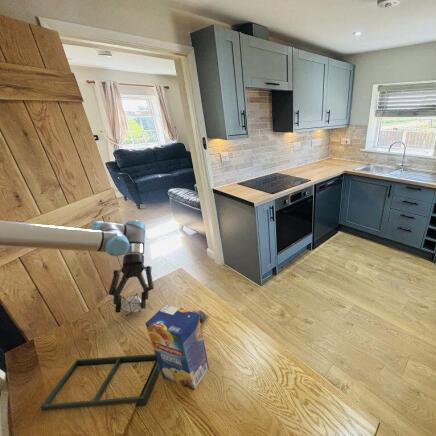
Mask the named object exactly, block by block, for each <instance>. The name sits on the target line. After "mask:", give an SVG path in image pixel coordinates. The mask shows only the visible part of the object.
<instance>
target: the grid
mask: <svg viewBox="0 0 436 436" xmlns="http://www.w3.org/2000/svg"><path fill="white" fill-rule="evenodd" d="M145 362H147V363H148V362H154V363H153V366H152V368H151V370H150V372H149V374H148V377H147V379H146V380H145V384H144V385H143V387H142V390H141V392H140V394H139V396H129V397H120V398H119V397H118V398H117V397H116V398H104V399H101V397H102V396H103V394H104V392H105V391H106V389H107V387H108V385H109V384H110V382H111V381H112V379H113V377H114V376H115V374H116V373H117V370H118V368H119V367H120V365H121V364H131V363H133V364H134V363H145ZM103 365H104V366H105V365H113V366H112V368H111V369H110V371H109V372H108V374H107V376H106V378H105V379H104V381H103V382H102V384H101V386H100V388H98V391H96V394H95V396H94V398H93V399H92V400H81V401H69V402H56V403H52V401H53V400H54V399H55V397H56V396H57V394H58V393H59V392H60V391H61V389H63V387H64V385H65V384H66V383H67V382H68V380H69V379H70V377H71V376H72V375H73V373H74V372H75V371H76V369H78V367H90V366H103ZM160 374H161V370H160V367H159V364H158V361H157V358H156V355H155V353H150V354H137V355H136V354H135V355H123V356H122V355H121V356H107V357H94V358H79V359H75V361H74V363H72V365H70V367H69V369H68V370H67V371H66V372H65V374H64V375H63V377H62V378H61V379H60V381H58V383H57V384H56V385H55V386H54V388H53V389H52V391H51V392H50V393H49V394H48V395H47V397H46V398H45V400H44V401H43V402H42V403H41V405H40V406H39V408H40V409H41V411H42V412H43V411H53V410H67V409H77V408H79V409H80V408H89V407H90V408H91V407H103V406H112V405H113V406H114V405H124V404H134V408H136V407H146V406H147V405H148V402H149V400H150V397H151V394H152V393H153V391H154V388H155V385H156V383H157V380H158V379H159V375H160Z"/></svg>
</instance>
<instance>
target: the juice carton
mask: <svg viewBox="0 0 436 436" xmlns="http://www.w3.org/2000/svg"><path fill="white" fill-rule="evenodd" d="M180 308H181V307H176V306H173V305H170V304H165V305H163V306H162V307H161V308H160V309H158V311H157V312H156V313H155V314H154V315H152V316H151V318H149V319H148V320H147V321H145V326H146V330H147V333H148V336H149V339H150V342H151V345H152V348H153V352H154V354H155V355H156V358H157V361H158V364H159V367H160V370H161V371H160V374H161V376H162V378H163V380H167V381H168V382H172V383H174V384H175V385H176V384H177V385H180V386H182V387H184V388H187V389H189V390H192V391H195V390H196V388H197V387H198V385H199V384H200V382H201V381H202V379H203V377H204V376H205V375H206V373H207V371H208V370H209V368H210V367H209V366H210V365H209V361H208V355H207V351H206V346H205V345H206V344H205V340H204V336H203V335H204V334H203V330H202V323H201V324H200V319H199V314H197V313H194V312H192V311H191V310H187V309H184V308H183V309H184V310H183V309H180Z"/></svg>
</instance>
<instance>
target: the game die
mask: <svg viewBox="0 0 436 436" xmlns="http://www.w3.org/2000/svg"><path fill="white" fill-rule="evenodd" d="M120 310H121V312H123V313H124V314H126V315H125V317H128V315H133V314H135V313H137V312H139V313H142V310H141V297H139V296H138V292H137V293H136V294H134V295H131V296H130V295H129V296H126V297H124V296H122V301H121V309H119V311H120Z"/></svg>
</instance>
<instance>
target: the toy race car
mask: <svg viewBox="0 0 436 436" xmlns="http://www.w3.org/2000/svg"><path fill="white" fill-rule="evenodd" d="M179 308H180V309H183V310H185V309H184V308H183V307H179ZM191 312H194V313H197V314H199V319H200V324H201V325H202V324H203V323H204V322H205V321H206V320H207V314H206V313H205V312H204V311H202V310H199V309H198V310H197V311H196V310H192V311H191Z"/></svg>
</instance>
